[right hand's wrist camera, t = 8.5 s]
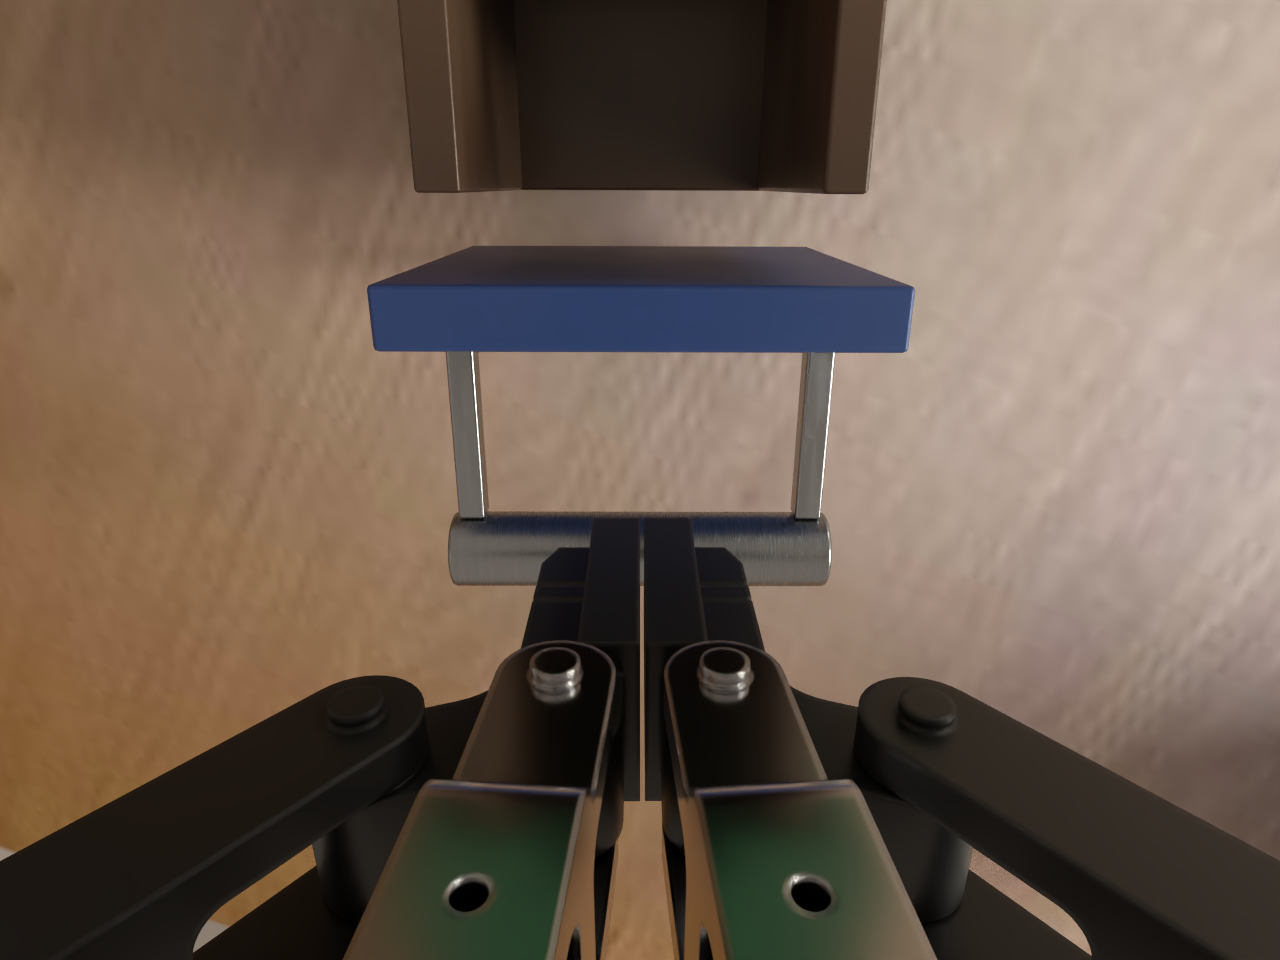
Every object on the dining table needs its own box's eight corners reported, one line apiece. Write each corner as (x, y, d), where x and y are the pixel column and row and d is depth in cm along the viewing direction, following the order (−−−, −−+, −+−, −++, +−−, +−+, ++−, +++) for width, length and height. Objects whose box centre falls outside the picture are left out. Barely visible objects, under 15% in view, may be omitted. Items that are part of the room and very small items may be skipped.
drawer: (790, 481, 25) (873, 642, 17) (487, 481, 25) (405, 641, 16) (871, -607, 17) (1136, -1499, 8) (412, -610, 17) (156, -1514, 8)
